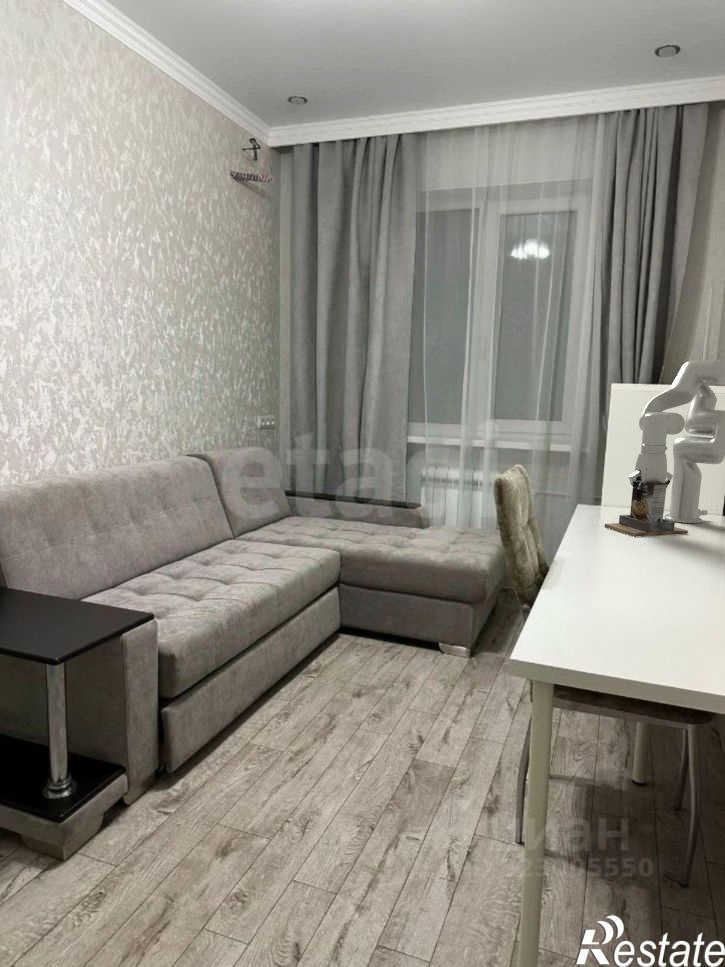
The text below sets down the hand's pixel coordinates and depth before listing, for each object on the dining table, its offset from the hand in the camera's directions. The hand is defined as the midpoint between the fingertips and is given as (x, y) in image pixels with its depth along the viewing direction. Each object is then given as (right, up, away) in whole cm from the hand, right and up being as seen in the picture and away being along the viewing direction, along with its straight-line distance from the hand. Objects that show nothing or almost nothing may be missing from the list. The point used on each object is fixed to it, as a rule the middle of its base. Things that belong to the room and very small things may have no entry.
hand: (648, 499), depth 224 cm
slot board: (-1, -11, +1) cm, 11 cm away
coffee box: (-1, -10, +1) cm, 10 cm away
